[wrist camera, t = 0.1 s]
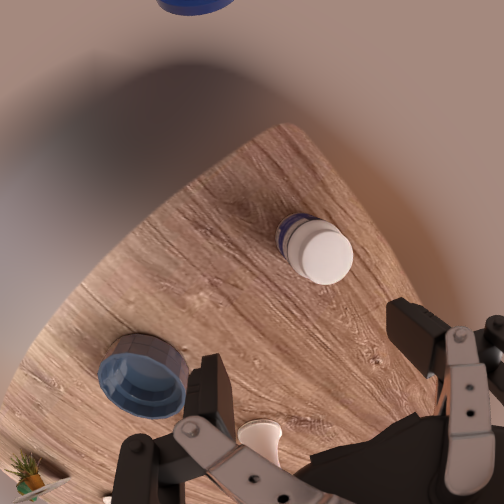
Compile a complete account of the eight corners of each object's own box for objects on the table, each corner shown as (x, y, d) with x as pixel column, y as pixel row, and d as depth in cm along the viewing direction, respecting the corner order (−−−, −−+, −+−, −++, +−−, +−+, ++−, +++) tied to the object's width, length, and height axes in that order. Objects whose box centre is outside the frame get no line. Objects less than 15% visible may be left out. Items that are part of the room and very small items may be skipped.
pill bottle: (330, 234, 32) (370, 256, 23) (298, 269, 33) (326, 303, 23) (297, 201, 31) (329, 210, 21) (263, 237, 32) (281, 262, 22)
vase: (266, 413, 39) (276, 460, 29) (288, 431, 41) (300, 474, 31) (228, 430, 39) (232, 476, 30) (253, 447, 41) (259, 489, 32)
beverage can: (26, 472, 44) (18, 493, 33) (23, 466, 43) (14, 487, 32) (44, 483, 46) (36, 504, 35) (42, 477, 45) (33, 500, 33)
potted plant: (56, 433, 46) (-17, 441, 25) (86, 488, 39) (12, 504, 17) (47, 449, 53) (-10, 455, 31) (71, 492, 45) (13, 503, 23)
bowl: (96, 339, 33) (82, 358, 28) (170, 324, 33) (163, 346, 28) (131, 399, 36) (124, 421, 31) (200, 390, 36) (199, 414, 32)
